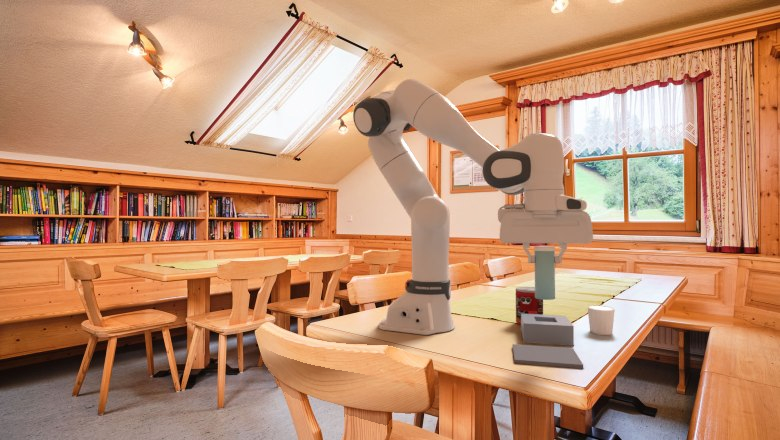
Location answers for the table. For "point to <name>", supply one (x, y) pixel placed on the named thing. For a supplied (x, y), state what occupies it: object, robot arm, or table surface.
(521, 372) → the table surface
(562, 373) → the table surface
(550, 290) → the cylinder
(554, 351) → the mat
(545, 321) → the block
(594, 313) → the white cup
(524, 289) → the canned food
